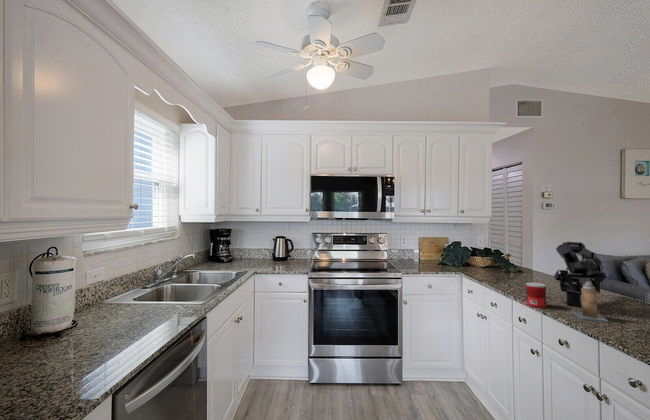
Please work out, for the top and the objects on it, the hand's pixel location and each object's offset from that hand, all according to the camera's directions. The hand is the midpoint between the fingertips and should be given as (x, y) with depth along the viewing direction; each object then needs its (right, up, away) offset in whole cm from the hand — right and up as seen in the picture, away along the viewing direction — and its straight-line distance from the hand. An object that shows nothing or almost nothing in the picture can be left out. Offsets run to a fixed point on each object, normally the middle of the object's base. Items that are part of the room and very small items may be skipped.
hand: (586, 291), depth 130 cm
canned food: (-14, -11, +12) cm, 22 cm away
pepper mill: (-3, -10, -4) cm, 11 cm away
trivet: (-3, -10, -4) cm, 11 cm away
